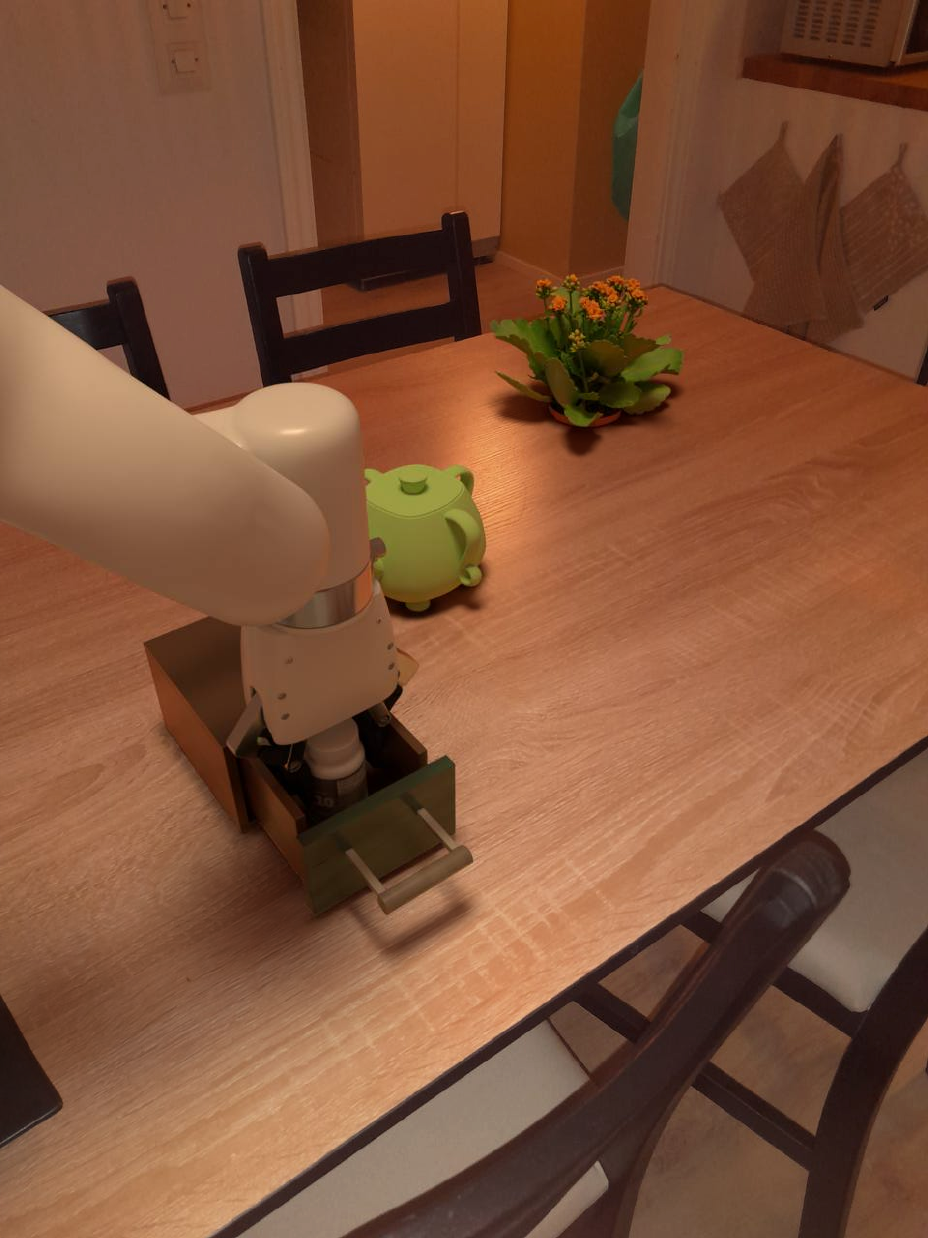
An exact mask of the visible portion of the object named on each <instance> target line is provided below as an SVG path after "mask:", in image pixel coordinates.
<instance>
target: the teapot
mask: <svg viewBox="0 0 928 1238" xmlns="http://www.w3.org/2000/svg"><path fill="white" fill-rule="evenodd" d="M364 469H365V481H368V482H369V483H368V484H366V497H367V511H368V525H369V539H370V540H371V539H374V538H376V537H379V538H381V539H382V540H383V542H384V544H385V546H386V551H387V553H386V555H385V556H383V557H381V558H378V560H377V561H376V562H374V565H373V567H374V576H375V577H376V579H377V580H378V582H379V584H380V586H381V589H382V592H383V595H384V597H387V598H389V599H392V600H394V601H397V602H402V603H404V604H405V607H406V608H407V609H408V610H410V611H413V612H422V611H425V610H427V609H428V608H429V607H430V606H431V600H433V599H435V598H439V597H441V596H443V595H445V594H446V595H447V594H448V593H450V592H452V591H453V590H455V589H457V588H458V587H459V586H460V585H463V586H466V587H476V586H477V585H478V584H480V583H481V581H482V578H483V573H482V571H481V569H480V568H479V567H478V566H479V565H480V563H481V562H482V561H483V558H484V556H485V553H486V549H487V538H486V531H485V527H484V526H485V525H484V523H483V522H484V521H483V518H482V515H481V513H480V511H479V509H478V507H477V505H476V503H475V501H474V499H473V492H474V486H475V478H474V474H473V472H472V471H471V470H470V469H469V468H468V467H467V466H464V465H460V464H452V465H449V466H447V467H446V468H445V469H443V470H442V469H438V468H436V467H434V466H430V465H426V464H422V463H418V464H417V463H414V464H412V463H411V464H407V465H402V466H399V467H396V468H393V469H391V470H388V471H386V472H380V471H378V470H377V469H374V468H364ZM458 478H459V479H458Z"/></svg>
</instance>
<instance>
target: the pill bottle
mask: <svg viewBox="0 0 928 1238" xmlns="http://www.w3.org/2000/svg"><path fill="white" fill-rule="evenodd" d="M303 759H304V760H305V761H306V762H307V763H308V765H309V766H310V769H311V775H312V782H313V789H314V796H315V801H313V802H314V803H313V804H311V805H309V806H307V808H308V812H309V815H310V816H311V818H312V819H313V820H314V821H315V822H316V823H317V824H319V823H321V822H323V821H324V820H326V819H328V818H330V817H332V816H334V815H336V814H337V813H339V812H341V811H343V810H345V809H347V808H349V807H350V806H352V805H354V804H356V803H358V802H360V801H361V800H363V799H365V798H367V797H368V786H367V773H366V760H365V749H364V746H363V744H362V742H361V741H360V739H359V735H358V727H357V725H356V723H355V721H354V720H353V719H352V718H351V717H350V718H348V719H346V720H344V721H342V722H340V723H338V724H336V725H334V726H332V727H330V728H328V729H326V730H324V731H321V732H319V733H317V734H315V735H313V736H311V737H309V738H308V739H307V744H306V748H305V753H304V757H303Z"/></svg>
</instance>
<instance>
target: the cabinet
mask: <svg viewBox="0 0 928 1238" xmlns="http://www.w3.org/2000/svg"><path fill="white" fill-rule="evenodd" d="M142 644H143V647H144V652H145V656H146V659H147V663H148V666H149V670H150V674H151V677H152V681H153V685H154V688H155V693H156V696H157V700H158V703H159V707H160V710H161V715H162V718H163V722H164V725H165V728H166V729H167V730H168V732H169V733H170V735H171V736H172V737H173V739H174V740H175V742H176V743H177V745H178V746H179V748H180V749H181V751H182V753H184V755H185V756H186V757H187V759H188V760H189V762H190V763H191V764H192V766H193V767H194V769H195V770H196V772H197V773H198V774H199V776H200V777H201V779H202V780H203V781H204V783H205V784H206V786H207V787H208V788H209V790H210V791H211V793H212V794H213V796H214V797H215V799H216V800H217V801H218V803H219V804H220V805H221V807H222V809H223V810H224V812H226V814H227V815H228V817H229V819H231V821H232V823H233V824H234V825H235V826H236V828H237V830H238V831H239V832H240V833H241V834H244V833H246V832H248V831H249V830H252V829H254V828H255V827H257V826H259V825H261V824H260V823H259V821H258V820H257V819H256V817H255V816H254V814H253V813H252V812H251V810H250V809H249V808H248V806H247V805H246V804H245V800H244V796H243V791H242V786H241V781H240V776H239V772H238V767H237V762H236V757H235V755H234V754H233V752H232V751H231V750H230V749H229V747H228V746H227V744H226V742H227V740H228V738H229V736H230V735H231V733H232V731H233V730H234V728H235V726H236V724H237V723H238V721H239V719H240V718H241V716H242V714H243V713H244V711H245V709H246V708H247V705H246V701H245V696H244V689H243V679H242V667H241V626H237V625H232V624H229V623H226V622H224V621H221V620H218V619H216V618H213V617H211V616H209V615H207V616H206V617H202V618H200V619H198V620H195V621H193V622H190V623H188V624H185V625H183V626H181V627H178V628H176V629H173V630H170V631H168V632H166V633H163V634H161V635H157V636H156V637H153V638H151V639H148V640H146V641H143V643H142ZM269 734H271V733H270V732H269V730H268V728H267V725H266V726H265V727H264V729H263V731H262V732H261V734H260V735H264V736H266V735H269Z"/></svg>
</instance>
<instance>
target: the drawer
mask: <svg viewBox="0 0 928 1238" xmlns="http://www.w3.org/2000/svg"><path fill="white" fill-rule="evenodd" d="M389 714H390V715H391V720H390V722H389V723H388V724H387V725H386V726H385V727H384V731H385V748H383V756H384V766H383V767H381V768H379V769H376V768H375V769H374V768H373V767H372V766H371V765H370V763H369V762H368V761H367V760H366V759H365V760H366V773H367V786H368V797H367V798H365V799H363V800H361V801H360V802H358V803H356V804H354V805H352V806H350V807H349V808H347V809H345V810H343V811H341V812H339V813H337V814H336V815H334V816H332V817H330V818H328V819H326V820H324V821H323V822H321V823H319V824H317V823H316V822H315V821H314V820H313V819H312V818H311V816H310V815H309V812H308V808H307V806H305V804H304V803H303V802H302V801H301V799H300V798H299V797H298V796H297V794H294V795H292V796H290V795H289V794H288V792H287V791H286V790H285V788H284V786H283V784H282V781H281V776H280V770H279V766H276V765H272V764H267V763H263V762H262V761H261V760H260V759H255V760H253V759H246V758H239V757H236V756H235V757H236V762H237V767H238V772H239V776H240V781H241V786H242V791H243V796H244V800H245V804H246V805H247V806H248V808H249V809H250V810H251V812H252V813H253V814H254V816H255V817H256V819H257V820H258V821H259V823H260V824H259V825H260V826H261V827H262V828H263V830H264V831H265V832H266V834H267V835H268V836H269V838H270V839H271V841H272V842H273V843H274V845H275V846H276V848H277V849H279V852H280V853H281V855H283V857H284V859H286V861H287V862H288V864H289V865H290V866H291V868H292V869H293V870H294V872H295V874H297V876H298V877H299V879H300V880H301V882H302V885H303V891H304V896H305V904H306V907H307V908H308V910H309V911H310V912H311V914H312V915H313V917H316V916H319V915H320V914H322V913H324V912H325V911H327V910H329V909H330V908H332V907H334V906H336V905H338V904H340V903H341V902H342V901H344V900H345V899H347V898H349V897H351V896H352V895H354V894H356V893H358V892H359V891H361V890H362V889H365V888H367V887H368V888H370V890H371V891H372V892H373V893H374V895H375V896H376V903H377V905H378V907H379V908H380V910H381V912H382V913H383V914H384V915H385V916H389V915H390V914H392V913H393V912H395V911H397V910H398V909H401V908H402V907H404V906H405V905H407V904H409V903H410V902H411V901H413V900H415V899H416V898H418V897H419V896H421V895H423V894H425V893H426V892H428V891H430V890H431V889H433V888H434V887H436V886H437V885H439V884H441V883H442V882H444V881H445V880H448V879H449V878H451V877H452V876H454V875H456V874H457V873H458V872H460V871H462V870H464V869H465V868H467V867H468V866H471V865H472V864H473V862H474V857H473V854H472V852H471V851H470V849H469V847H467V846H466V845H464V844H461V845H459V844H458V843H456V841H455V840H454V839H453V838H452V836H454V835H455V834H456V833H457V832H456V831H457V830H456V829H457V828H456V827H457V824H456V822H457V821H456V820H457V819H456V816H457V815H456V814H457V813H456V812H457V811H456V808H457V807H456V804H457V803H456V797H457V796H456V763H455V762H454V761H453V760H452V759H451V758H450V757H449V756H448V755H447V754H444V755H442V756H441V757H439V758H437V759H435V760H433V761H432V762H430V763H429V757H428V756H429V755H428V753H429V752H428V749H427V748H426V747H425V746H424V745H423V743H422V742H420V740H419V739H418V738H417V737H415V735H414V734H412V732H411V731H410V730H409V729H408V728H407V727H406V726H405V725H404V724H403V723H402V722H401V721H400V720H399V719H398V718H397V717H396V716H395V715H394V714H393V713H392V712H391V711H390V712H389ZM351 718H352V717H351ZM270 735H271V734H269V735H266V736H268V737H270ZM440 843H441V845H442V846H443V847H444V848H445V849H446V850H447V851H448V853H446V854H444V855H443V856H442V857H440V858H438V859H436V860H435V861H433V862H430V863H429V864H427V865H426V866H424V867H423V868H421V869H419V870H418V871H417V872H415V873H413V874H412V875H409V876H408V877H406V878H405V879H403V880H402V881H400V882H398V883H396V884H395V885H393V886H392V887H390V888H388V889H386V888H385V887H384V885H383V884H382V882H381V881H379V879H381V878H383V877H384V876H386V875H388V874H389V873H391V872H394V871H395V870H396V869H398V868H400V867H402V866H403V865H405V864H407V863H408V862H410V861H412V860H413V859H415V858H417V857H418V856H420V855H421V854H424V853H425V852H427V851H429V850H430V849H432V848H434V847H435V846H437V845H438V844H440Z"/></svg>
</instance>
